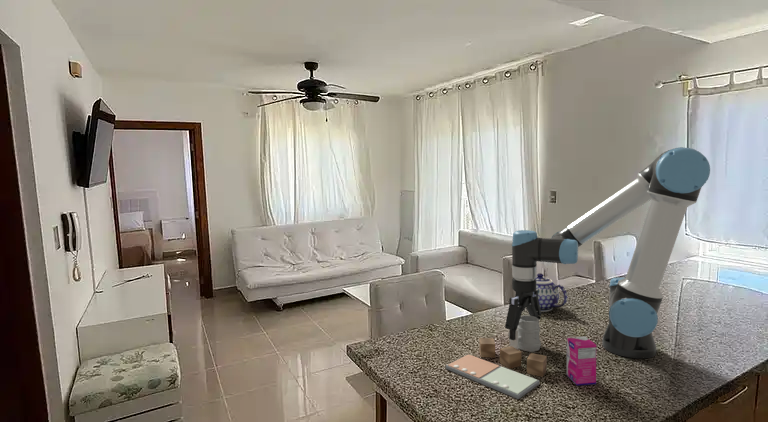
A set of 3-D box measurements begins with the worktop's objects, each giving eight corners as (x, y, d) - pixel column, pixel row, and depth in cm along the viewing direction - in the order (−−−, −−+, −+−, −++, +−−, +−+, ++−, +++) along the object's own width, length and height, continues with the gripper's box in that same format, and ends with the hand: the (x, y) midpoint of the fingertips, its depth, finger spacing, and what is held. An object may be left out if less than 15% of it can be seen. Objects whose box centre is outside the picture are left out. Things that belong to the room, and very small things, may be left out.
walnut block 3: (546, 370, 126) (546, 356, 125) (542, 377, 122) (543, 362, 121) (530, 367, 128) (530, 352, 128) (526, 373, 124) (526, 358, 124)
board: (539, 384, 118) (539, 379, 118) (518, 399, 111) (518, 394, 110) (468, 357, 136) (468, 353, 136) (445, 368, 128) (445, 364, 128)
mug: (546, 349, 140) (546, 313, 139) (517, 356, 135) (517, 319, 134) (529, 341, 147) (529, 306, 146) (501, 347, 142) (501, 312, 141)
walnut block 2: (521, 366, 129) (521, 351, 128) (509, 369, 127) (509, 354, 127) (511, 360, 133) (511, 346, 133) (499, 362, 131) (499, 348, 131)
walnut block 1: (493, 351, 139) (493, 338, 139) (495, 357, 135) (495, 344, 134) (479, 351, 140) (479, 338, 140) (480, 357, 136) (480, 343, 135)
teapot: (577, 313, 173) (578, 277, 172) (552, 320, 166) (553, 283, 164) (528, 297, 195) (529, 265, 193) (504, 303, 187) (504, 270, 186)
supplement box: (565, 375, 122) (566, 337, 121) (585, 374, 123) (586, 335, 121) (576, 386, 116) (576, 345, 115) (597, 384, 117) (598, 344, 116)
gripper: (532, 269, 149) (531, 330, 152) (493, 283, 134) (493, 350, 136) (552, 273, 144) (551, 336, 146) (515, 288, 128) (514, 358, 130)
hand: (523, 343), depth 141 cm, fingers closed on mug, 11 cm apart
